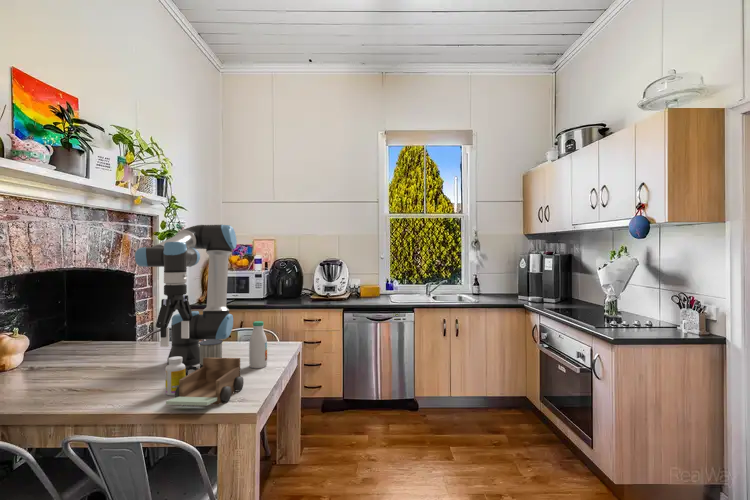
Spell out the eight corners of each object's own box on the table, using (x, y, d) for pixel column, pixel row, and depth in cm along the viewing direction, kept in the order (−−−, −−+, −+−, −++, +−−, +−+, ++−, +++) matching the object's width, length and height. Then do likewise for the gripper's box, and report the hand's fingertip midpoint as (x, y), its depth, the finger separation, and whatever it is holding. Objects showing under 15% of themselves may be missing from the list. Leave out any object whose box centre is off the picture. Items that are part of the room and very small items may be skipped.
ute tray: (174, 403, 142) (174, 371, 142) (200, 386, 160) (199, 357, 160) (224, 404, 141) (224, 372, 141) (245, 387, 159) (244, 358, 159)
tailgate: (177, 401, 140) (165, 406, 133) (178, 396, 141) (166, 401, 133) (216, 402, 139) (206, 407, 132) (217, 397, 140) (207, 402, 132)
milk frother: (225, 379, 169) (225, 342, 169) (182, 385, 160) (182, 347, 160) (218, 370, 181) (218, 336, 181) (178, 376, 173) (178, 340, 173)
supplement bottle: (189, 391, 154) (189, 356, 154) (175, 397, 148) (175, 360, 148) (175, 389, 156) (175, 354, 156) (161, 395, 150) (161, 359, 150)
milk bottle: (262, 369, 182) (262, 323, 182) (246, 368, 184) (246, 322, 184) (270, 364, 190) (270, 320, 190) (254, 363, 191) (254, 320, 191)
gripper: (165, 286, 139) (165, 350, 139) (201, 281, 164) (201, 335, 164) (144, 286, 140) (144, 350, 140) (183, 281, 165) (183, 335, 165)
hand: (175, 342), depth 152 cm, fingers open, 13 cm apart
